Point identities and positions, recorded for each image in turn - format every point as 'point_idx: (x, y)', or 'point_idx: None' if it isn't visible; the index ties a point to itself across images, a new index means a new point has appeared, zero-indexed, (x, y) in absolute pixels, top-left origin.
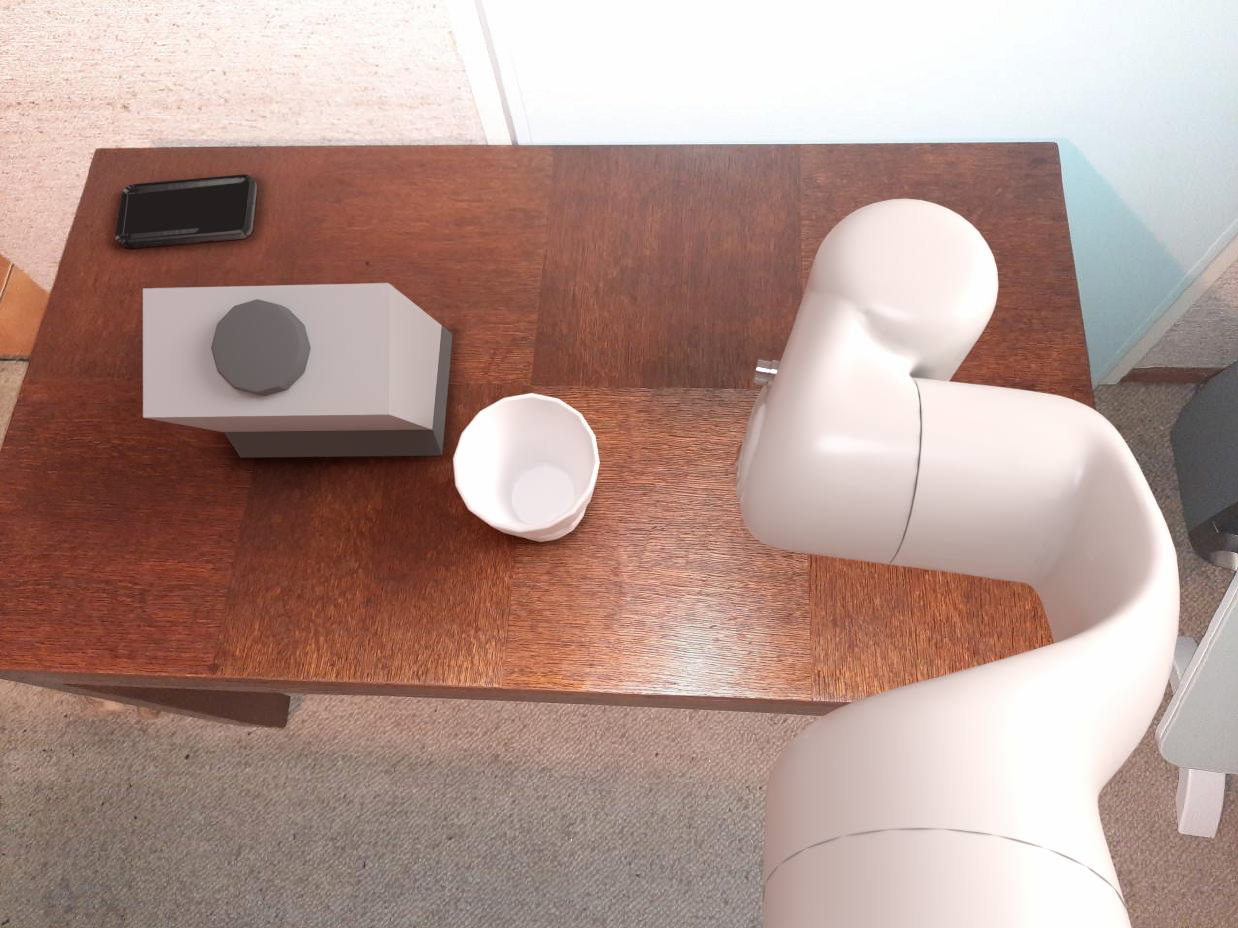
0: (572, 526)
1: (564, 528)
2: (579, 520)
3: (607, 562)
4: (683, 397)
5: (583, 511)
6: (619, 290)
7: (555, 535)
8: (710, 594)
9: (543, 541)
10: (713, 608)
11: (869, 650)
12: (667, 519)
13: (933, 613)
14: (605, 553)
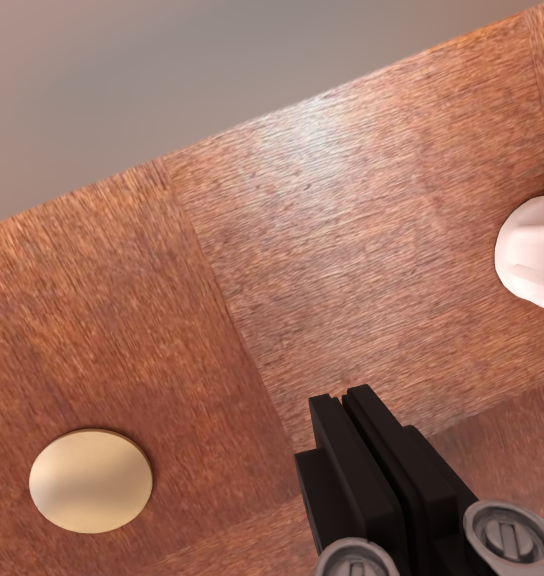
0: (512, 229)
1: (522, 222)
2: (500, 241)
3: (450, 208)
4: (431, 424)
5: (502, 252)
6: (532, 497)
7: (526, 210)
8: (324, 223)
9: (528, 200)
10: (314, 209)
11: (117, 240)
12: (402, 287)
13: (63, 318)
14: (456, 217)
